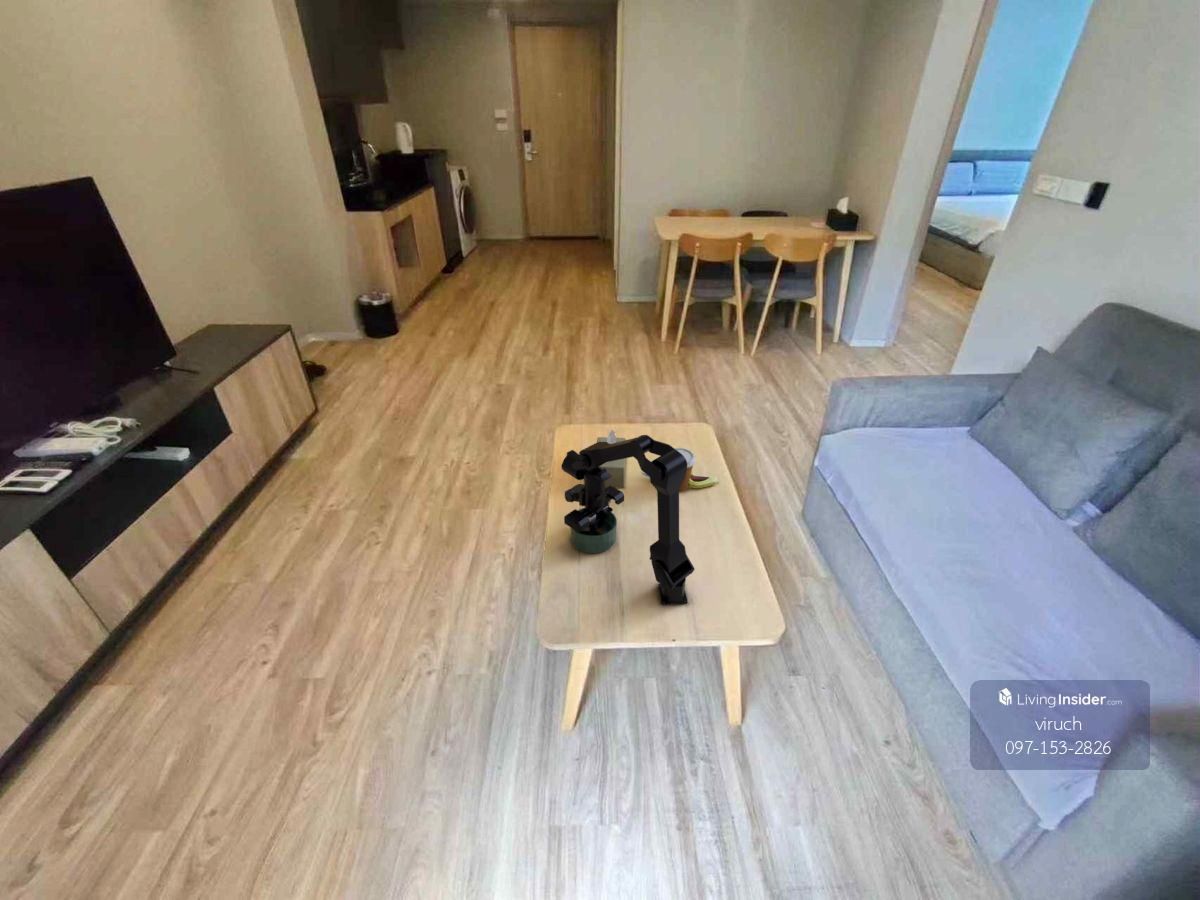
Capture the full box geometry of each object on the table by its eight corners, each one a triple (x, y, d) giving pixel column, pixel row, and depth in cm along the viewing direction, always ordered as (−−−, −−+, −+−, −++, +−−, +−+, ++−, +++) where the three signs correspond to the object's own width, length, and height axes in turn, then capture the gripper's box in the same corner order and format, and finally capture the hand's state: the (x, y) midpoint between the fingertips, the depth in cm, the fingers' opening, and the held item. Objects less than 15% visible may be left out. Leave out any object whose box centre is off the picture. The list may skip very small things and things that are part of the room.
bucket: (618, 553, 147) (618, 535, 144) (570, 555, 147) (570, 537, 143) (614, 522, 158) (614, 505, 155) (570, 524, 158) (569, 507, 154)
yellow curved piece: (639, 485, 174) (717, 491, 171) (639, 479, 172) (718, 484, 170) (641, 472, 180) (716, 477, 178) (641, 465, 179) (717, 470, 176)
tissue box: (623, 488, 172) (624, 447, 164) (593, 487, 173) (592, 446, 165) (625, 456, 188) (626, 417, 180) (597, 455, 189) (597, 416, 180)
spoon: (609, 536, 150) (609, 530, 149) (600, 543, 148) (600, 537, 147) (586, 522, 155) (586, 517, 154) (577, 529, 153) (577, 523, 152)
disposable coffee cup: (698, 490, 171) (701, 459, 165) (671, 497, 168) (674, 466, 162) (683, 475, 178) (686, 444, 172) (657, 481, 176) (659, 450, 169)
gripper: (596, 460, 153) (596, 504, 161) (548, 490, 141) (551, 535, 149) (626, 475, 146) (625, 519, 155) (578, 508, 135) (580, 553, 143)
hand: (595, 531), depth 151 cm, fingers closed on spoon, 1 cm apart
